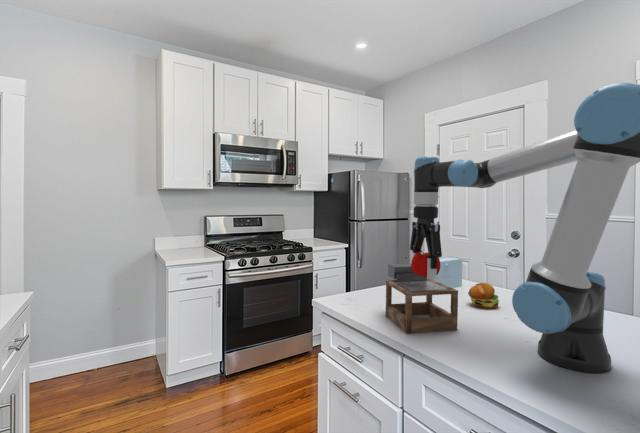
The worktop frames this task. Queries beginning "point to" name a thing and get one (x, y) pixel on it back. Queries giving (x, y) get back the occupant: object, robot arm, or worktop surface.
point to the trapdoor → (405, 274)
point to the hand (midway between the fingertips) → (424, 275)
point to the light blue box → (450, 272)
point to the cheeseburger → (483, 296)
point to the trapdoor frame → (421, 309)
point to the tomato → (422, 264)
